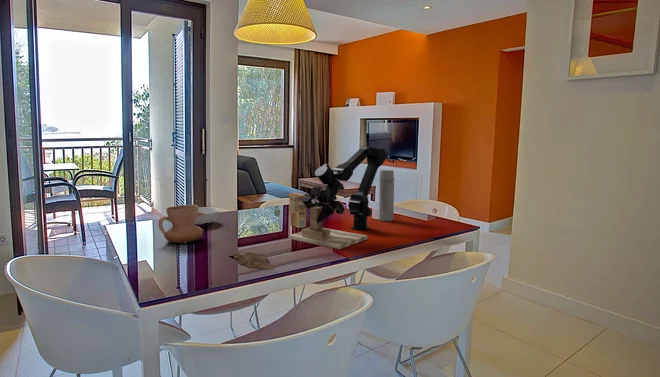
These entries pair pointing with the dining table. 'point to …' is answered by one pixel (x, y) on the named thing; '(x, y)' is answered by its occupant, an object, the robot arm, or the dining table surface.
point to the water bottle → (386, 195)
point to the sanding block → (315, 226)
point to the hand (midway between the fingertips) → (313, 221)
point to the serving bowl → (206, 215)
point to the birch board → (332, 239)
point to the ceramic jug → (182, 224)
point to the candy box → (297, 210)
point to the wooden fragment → (253, 260)
